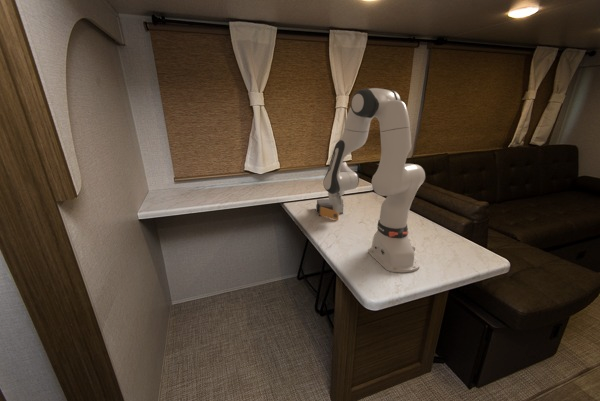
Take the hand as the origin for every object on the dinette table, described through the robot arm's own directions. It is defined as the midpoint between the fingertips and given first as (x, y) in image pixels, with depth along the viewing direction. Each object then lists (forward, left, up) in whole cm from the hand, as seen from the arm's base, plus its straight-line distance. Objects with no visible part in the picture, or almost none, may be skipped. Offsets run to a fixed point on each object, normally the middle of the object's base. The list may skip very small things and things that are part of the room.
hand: (334, 212), depth 145 cm
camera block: (+10, 0, -4) cm, 11 cm away
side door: (+1, +3, -4) cm, 5 cm away
